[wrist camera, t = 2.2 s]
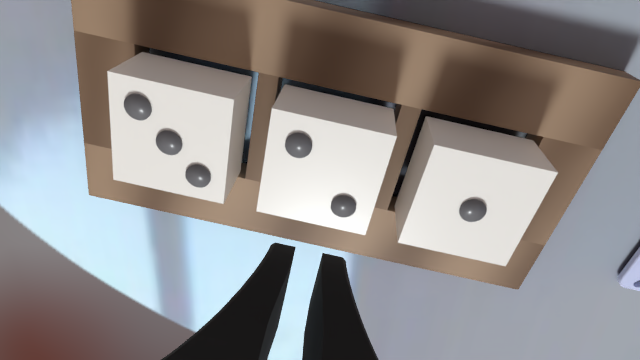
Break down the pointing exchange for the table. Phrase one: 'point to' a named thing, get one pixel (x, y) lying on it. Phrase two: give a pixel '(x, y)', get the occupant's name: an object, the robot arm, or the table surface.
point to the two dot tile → (325, 159)
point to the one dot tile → (470, 191)
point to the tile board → (362, 79)
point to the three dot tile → (177, 125)
